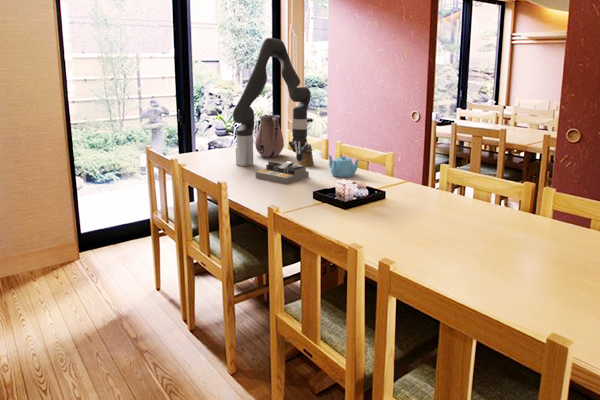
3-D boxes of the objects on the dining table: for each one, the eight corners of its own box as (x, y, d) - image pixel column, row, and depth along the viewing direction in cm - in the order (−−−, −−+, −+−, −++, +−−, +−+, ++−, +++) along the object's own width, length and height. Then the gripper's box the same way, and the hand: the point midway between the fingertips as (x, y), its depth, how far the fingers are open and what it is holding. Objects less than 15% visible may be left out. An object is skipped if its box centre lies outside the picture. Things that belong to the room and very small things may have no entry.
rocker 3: (288, 169, 263) (288, 166, 262) (298, 168, 269) (298, 165, 268) (294, 171, 261) (294, 167, 260) (303, 169, 267) (303, 166, 266)
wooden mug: (305, 161, 306) (305, 131, 301) (316, 165, 294) (317, 134, 289) (292, 162, 302) (292, 132, 297) (302, 167, 290) (303, 135, 285)
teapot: (353, 171, 281) (353, 153, 278) (360, 178, 267) (361, 158, 264) (326, 172, 279) (327, 153, 276) (332, 179, 265) (333, 159, 262)
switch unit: (255, 177, 267) (255, 167, 266) (278, 171, 281) (277, 161, 279) (286, 184, 255) (286, 173, 253) (308, 177, 269) (308, 166, 267)
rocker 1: (268, 164, 271) (268, 161, 271) (277, 166, 277) (278, 163, 277) (273, 165, 269) (273, 162, 268) (282, 167, 275) (283, 164, 275)
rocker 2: (278, 170, 267) (278, 167, 267) (288, 163, 273) (287, 160, 272) (283, 171, 265) (283, 168, 265) (293, 164, 271) (292, 161, 270)
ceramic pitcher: (274, 152, 331) (274, 113, 324) (292, 157, 314) (292, 116, 307) (250, 155, 322) (249, 114, 315) (267, 161, 305) (266, 119, 298)
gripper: (285, 126, 262) (284, 160, 267) (305, 129, 254) (305, 164, 259) (294, 125, 267) (293, 157, 273) (314, 128, 260) (313, 161, 265)
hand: (299, 160), depth 266 cm, fingers closed
